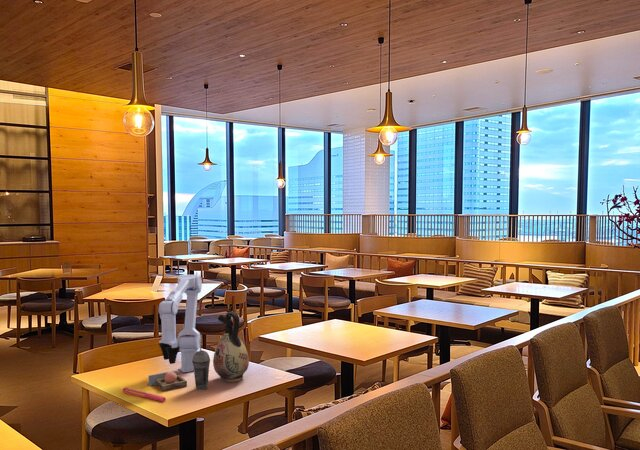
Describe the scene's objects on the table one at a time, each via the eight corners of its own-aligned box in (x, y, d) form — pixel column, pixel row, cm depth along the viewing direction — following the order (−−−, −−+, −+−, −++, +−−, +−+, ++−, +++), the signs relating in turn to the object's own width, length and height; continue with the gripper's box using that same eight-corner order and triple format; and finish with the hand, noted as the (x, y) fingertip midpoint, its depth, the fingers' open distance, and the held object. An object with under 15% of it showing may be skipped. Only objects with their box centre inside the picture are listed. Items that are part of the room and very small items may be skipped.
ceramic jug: (206, 379, 212) (204, 311, 212) (234, 371, 224) (233, 306, 223) (229, 388, 201) (228, 315, 200) (259, 379, 212) (257, 310, 212)
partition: (175, 378, 215) (175, 369, 215) (178, 380, 212) (177, 371, 212) (147, 384, 208) (147, 374, 208) (149, 386, 205) (149, 376, 205)
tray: (179, 380, 213) (179, 375, 212) (186, 386, 204) (186, 381, 204) (155, 384, 207) (155, 379, 207) (162, 391, 199) (162, 386, 199)
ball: (175, 381, 209) (174, 369, 209) (178, 384, 205) (178, 372, 205) (163, 383, 206) (162, 371, 206) (166, 386, 202) (166, 374, 202)
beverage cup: (194, 392, 196) (193, 343, 196) (190, 387, 203) (189, 339, 203) (212, 389, 200) (211, 340, 199) (208, 384, 206) (207, 337, 206)
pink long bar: (129, 392, 201) (119, 392, 198) (130, 387, 202) (121, 387, 198) (169, 403, 189) (160, 403, 185) (170, 397, 189) (161, 397, 186)
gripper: (154, 327, 210) (154, 359, 211) (164, 333, 198) (165, 367, 199) (170, 325, 214) (171, 356, 215) (181, 331, 202) (182, 364, 203)
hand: (169, 361), depth 207 cm, fingers open, 7 cm apart
